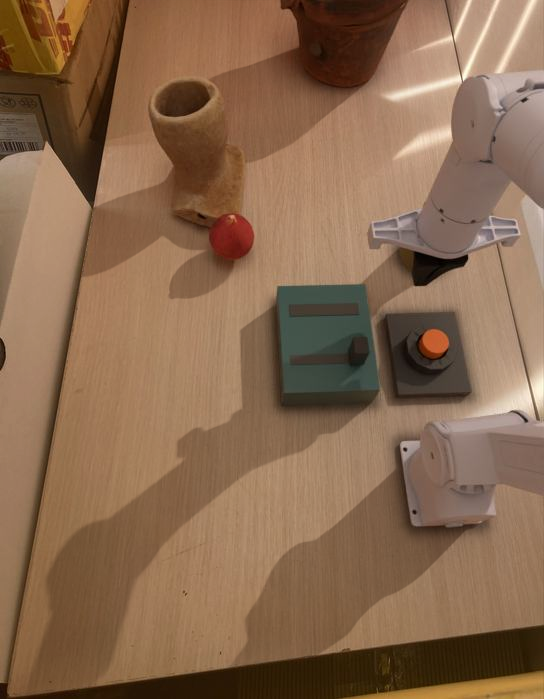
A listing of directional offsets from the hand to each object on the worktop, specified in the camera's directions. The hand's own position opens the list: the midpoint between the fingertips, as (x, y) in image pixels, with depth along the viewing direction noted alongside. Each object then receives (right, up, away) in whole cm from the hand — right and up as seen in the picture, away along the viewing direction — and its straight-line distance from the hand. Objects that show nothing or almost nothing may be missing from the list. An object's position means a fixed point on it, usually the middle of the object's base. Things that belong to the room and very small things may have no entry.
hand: (418, 278), depth 60 cm
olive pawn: (+4, +5, +14) cm, 15 cm away
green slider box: (-10, -8, +7) cm, 15 cm away
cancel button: (+3, -8, +5) cm, 10 cm away
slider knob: (-7, -9, +2) cm, 11 cm away
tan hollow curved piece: (-26, +15, +17) cm, 35 cm away
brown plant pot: (-6, +40, +30) cm, 50 cm away
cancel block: (+3, -9, +8) cm, 12 cm away
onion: (-22, +5, +13) cm, 26 cm away
